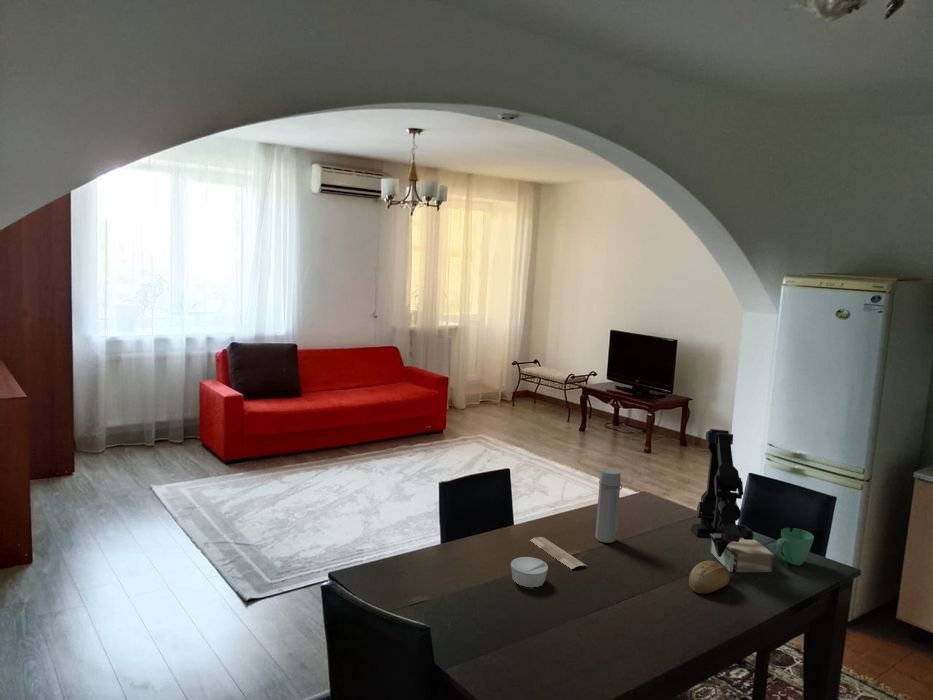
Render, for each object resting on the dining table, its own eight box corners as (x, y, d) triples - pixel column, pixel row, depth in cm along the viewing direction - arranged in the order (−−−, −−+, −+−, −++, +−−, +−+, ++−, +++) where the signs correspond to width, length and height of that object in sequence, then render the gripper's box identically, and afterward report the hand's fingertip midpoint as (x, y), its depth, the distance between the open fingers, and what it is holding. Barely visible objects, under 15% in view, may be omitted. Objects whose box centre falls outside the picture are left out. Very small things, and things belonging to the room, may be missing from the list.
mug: (789, 553, 228) (792, 525, 227) (816, 565, 220) (820, 536, 219) (762, 561, 221) (765, 532, 220) (789, 573, 213) (793, 544, 211)
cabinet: (714, 551, 227) (715, 535, 226) (747, 551, 228) (748, 535, 227) (736, 572, 212) (738, 554, 211) (771, 571, 213) (773, 554, 213)
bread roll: (737, 587, 202) (739, 563, 201) (710, 601, 192) (712, 575, 191) (708, 575, 209) (710, 551, 208) (681, 588, 200) (683, 563, 199)
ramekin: (545, 593, 193) (546, 575, 192) (507, 587, 195) (508, 570, 194) (548, 575, 204) (549, 559, 203) (512, 570, 206) (513, 554, 205)
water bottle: (590, 537, 234) (595, 468, 231) (608, 534, 237) (613, 466, 234) (605, 547, 226) (611, 476, 223) (624, 544, 229) (630, 474, 226)
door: (709, 550, 227) (711, 535, 226) (712, 550, 227) (714, 535, 226) (729, 571, 212) (731, 554, 211) (732, 571, 212) (734, 555, 211)
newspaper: (586, 569, 211) (587, 563, 210) (569, 573, 207) (569, 567, 207) (543, 540, 231) (544, 535, 231) (526, 544, 228) (527, 539, 227)
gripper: (707, 519, 205) (701, 567, 207) (765, 521, 207) (759, 568, 208) (692, 506, 216) (687, 551, 218) (747, 508, 218) (742, 553, 220)
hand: (719, 556), depth 216 cm, fingers closed
